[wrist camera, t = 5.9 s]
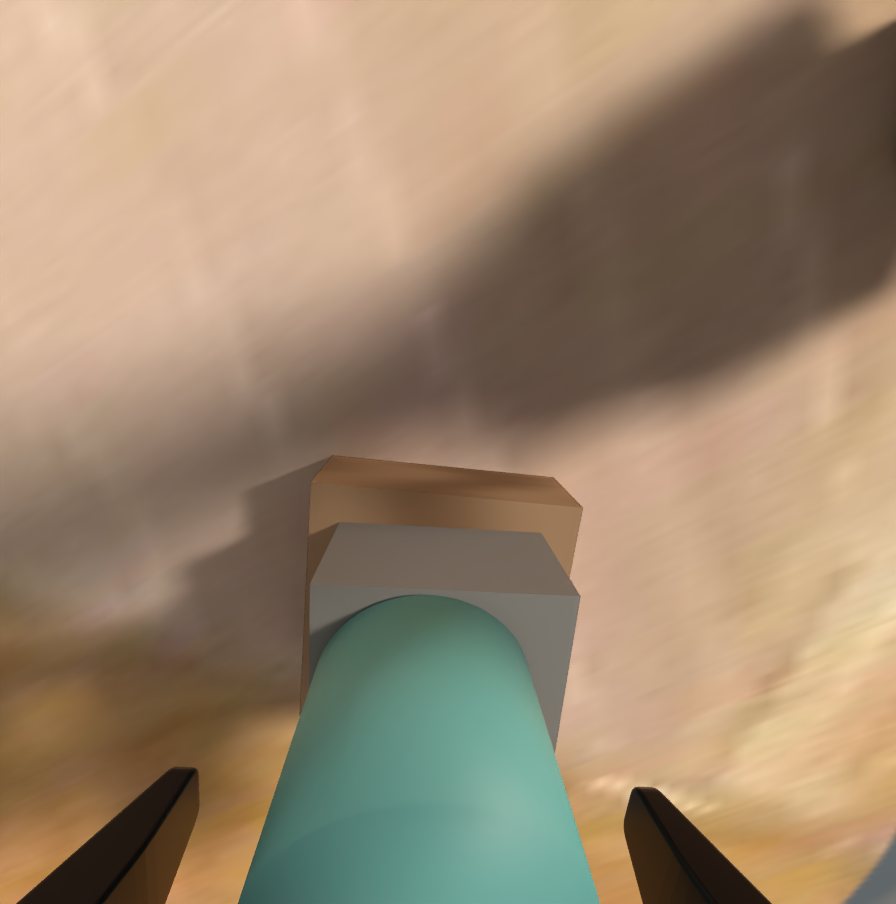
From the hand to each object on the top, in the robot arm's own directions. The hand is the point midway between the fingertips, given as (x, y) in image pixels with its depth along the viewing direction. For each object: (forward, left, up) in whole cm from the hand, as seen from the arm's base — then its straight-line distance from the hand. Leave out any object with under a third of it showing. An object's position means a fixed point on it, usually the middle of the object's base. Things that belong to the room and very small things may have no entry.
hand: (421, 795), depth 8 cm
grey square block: (0, +1, -6) cm, 6 cm away
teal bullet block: (0, 0, -2) cm, 3 cm away
